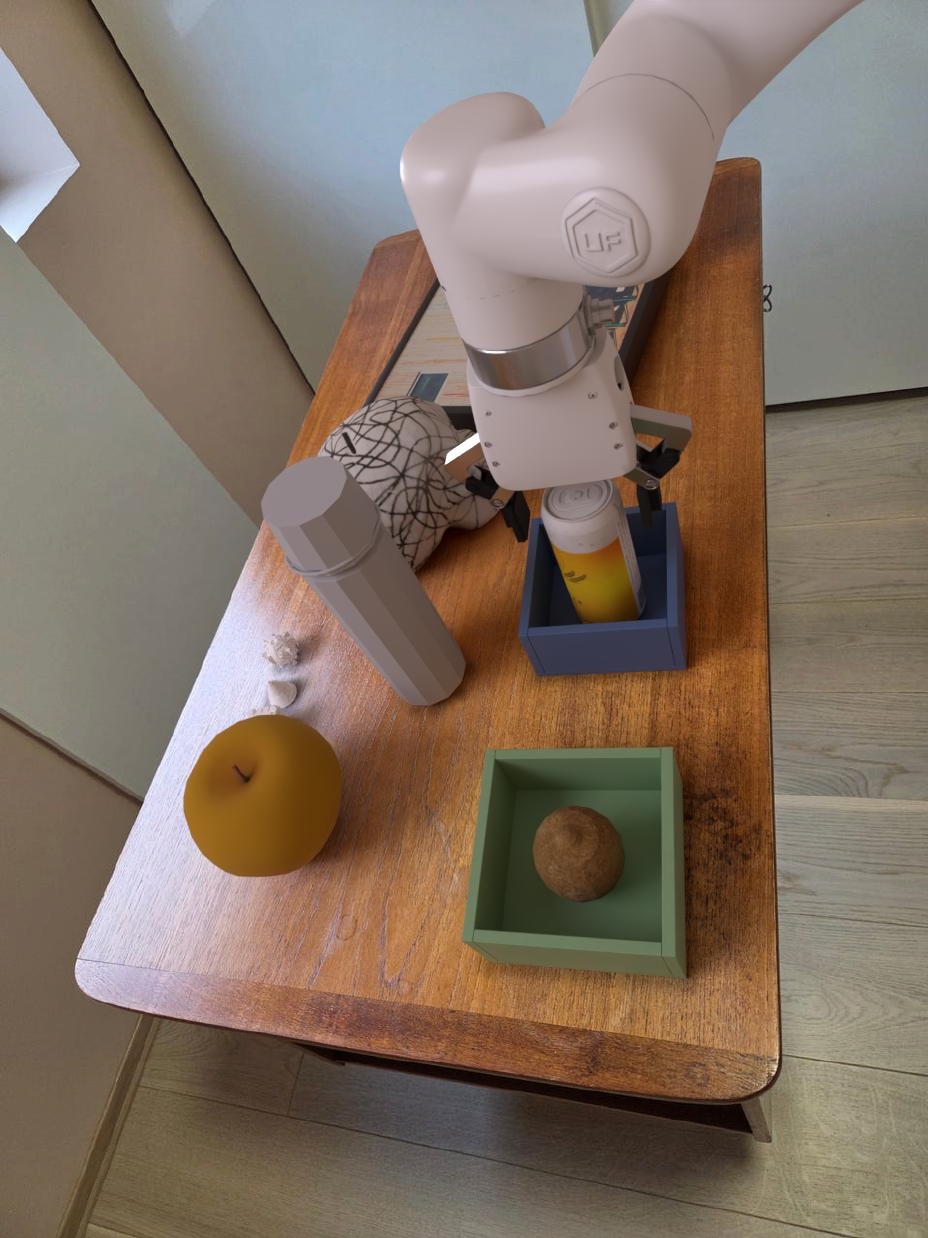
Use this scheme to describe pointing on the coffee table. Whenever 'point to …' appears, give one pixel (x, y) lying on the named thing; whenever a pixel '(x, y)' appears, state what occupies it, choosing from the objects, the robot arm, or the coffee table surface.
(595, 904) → the green bin
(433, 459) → the sculpture
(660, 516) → the blue bin
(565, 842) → the fruit
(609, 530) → the beer can
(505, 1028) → the coffee table surface
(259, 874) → the apple
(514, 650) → the coffee table surface
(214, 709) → the coffee table surface
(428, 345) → the framed painting
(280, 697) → the seashells
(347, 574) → the water bottle
